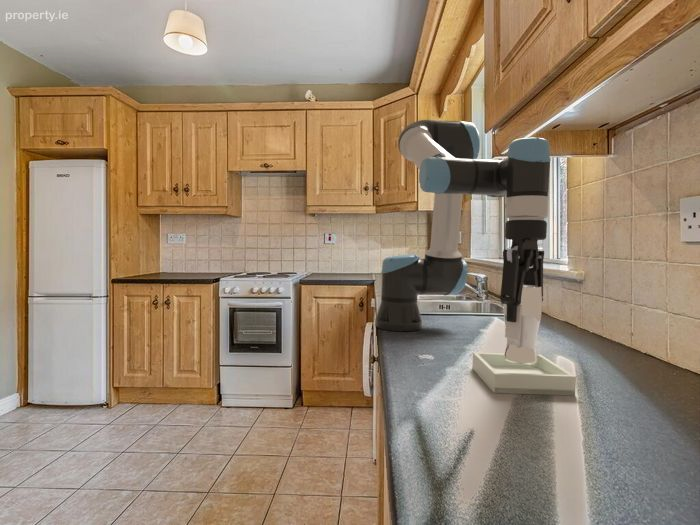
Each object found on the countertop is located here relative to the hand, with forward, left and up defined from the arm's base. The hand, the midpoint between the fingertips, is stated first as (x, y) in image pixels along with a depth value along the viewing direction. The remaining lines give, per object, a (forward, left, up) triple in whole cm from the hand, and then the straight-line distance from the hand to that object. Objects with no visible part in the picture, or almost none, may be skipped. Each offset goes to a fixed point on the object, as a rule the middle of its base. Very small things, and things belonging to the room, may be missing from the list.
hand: (521, 335), depth 81 cm
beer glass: (0, 0, -5) cm, 5 cm away
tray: (0, 0, -9) cm, 9 cm away
